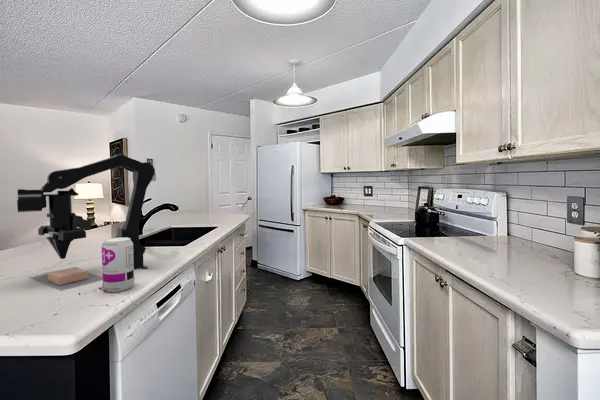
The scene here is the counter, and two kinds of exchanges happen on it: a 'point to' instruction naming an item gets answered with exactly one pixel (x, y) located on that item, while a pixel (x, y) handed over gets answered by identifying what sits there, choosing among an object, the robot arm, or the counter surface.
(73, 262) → the counter surface
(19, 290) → the counter surface
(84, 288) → the counter surface
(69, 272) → the tile
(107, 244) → the supplement can
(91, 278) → the mat
